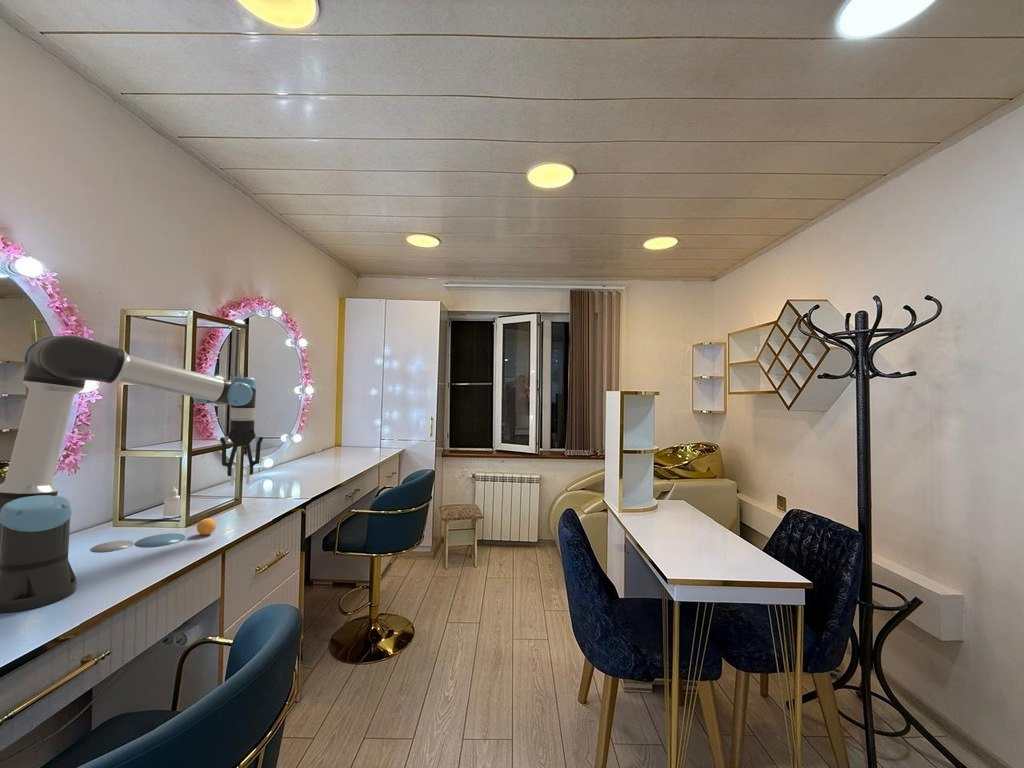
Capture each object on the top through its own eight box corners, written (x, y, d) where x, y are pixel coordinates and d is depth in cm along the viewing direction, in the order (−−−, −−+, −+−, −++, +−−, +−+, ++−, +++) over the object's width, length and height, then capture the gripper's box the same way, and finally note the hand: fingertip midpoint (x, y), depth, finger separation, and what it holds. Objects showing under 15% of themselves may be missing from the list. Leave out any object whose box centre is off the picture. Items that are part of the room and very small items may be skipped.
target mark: (158, 548, 141) (158, 548, 141) (124, 544, 144) (124, 544, 144) (194, 536, 154) (194, 535, 154) (162, 532, 156) (162, 531, 156)
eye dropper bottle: (177, 518, 172) (179, 487, 172) (161, 519, 171) (162, 487, 171) (183, 515, 176) (185, 485, 177) (167, 516, 175) (168, 485, 175)
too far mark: (108, 553, 136) (108, 552, 136) (82, 550, 138) (82, 549, 138) (141, 542, 146) (141, 542, 146) (116, 539, 148) (116, 539, 148)
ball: (206, 537, 153) (206, 521, 153) (192, 536, 154) (193, 520, 154) (219, 532, 158) (220, 517, 158) (206, 531, 159) (206, 515, 159)
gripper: (268, 418, 170) (265, 480, 169) (213, 419, 160) (211, 484, 160) (270, 420, 164) (268, 484, 163) (214, 420, 154) (211, 488, 154)
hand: (239, 484), depth 161 cm, fingers open, 4 cm apart
